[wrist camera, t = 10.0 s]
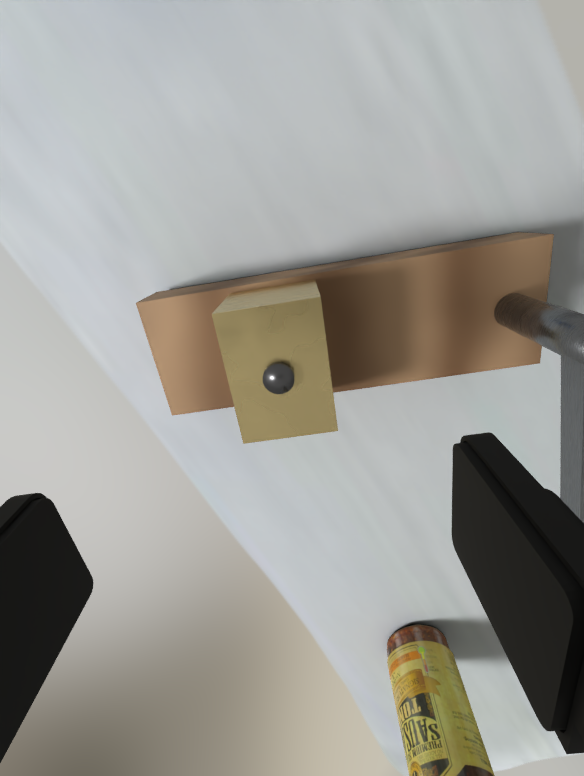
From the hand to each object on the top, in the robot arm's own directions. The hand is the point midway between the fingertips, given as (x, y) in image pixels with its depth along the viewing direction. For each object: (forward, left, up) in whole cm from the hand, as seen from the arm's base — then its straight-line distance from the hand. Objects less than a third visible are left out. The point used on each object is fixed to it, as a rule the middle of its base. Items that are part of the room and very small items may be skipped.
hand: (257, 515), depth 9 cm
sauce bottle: (-8, +34, -18) cm, 39 cm away
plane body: (-4, 0, -18) cm, 18 cm away
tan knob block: (0, 0, -14) cm, 14 cm away
